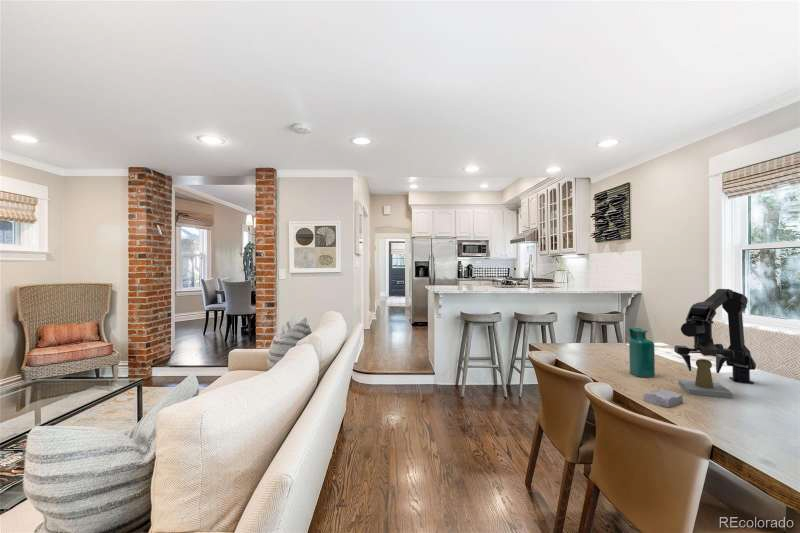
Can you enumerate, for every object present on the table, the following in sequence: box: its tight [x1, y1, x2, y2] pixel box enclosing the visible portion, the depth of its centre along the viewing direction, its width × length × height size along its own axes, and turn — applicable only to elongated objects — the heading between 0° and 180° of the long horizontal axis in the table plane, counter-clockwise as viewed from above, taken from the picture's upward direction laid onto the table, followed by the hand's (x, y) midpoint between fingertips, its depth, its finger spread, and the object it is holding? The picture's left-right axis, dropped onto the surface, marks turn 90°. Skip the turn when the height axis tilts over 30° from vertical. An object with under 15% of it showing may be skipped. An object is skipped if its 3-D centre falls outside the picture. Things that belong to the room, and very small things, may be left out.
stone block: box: [642, 389, 684, 409], centre depth 140 cm, size 12×5×10 cm
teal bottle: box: [628, 327, 656, 378], centre depth 175 cm, size 10×8×22 cm
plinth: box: [678, 379, 734, 399], centre depth 151 cm, size 14×14×2 cm
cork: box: [694, 358, 714, 388], centre depth 151 cm, size 6×6×11 cm
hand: (703, 371), depth 151 cm, fingers open, 9 cm apart
